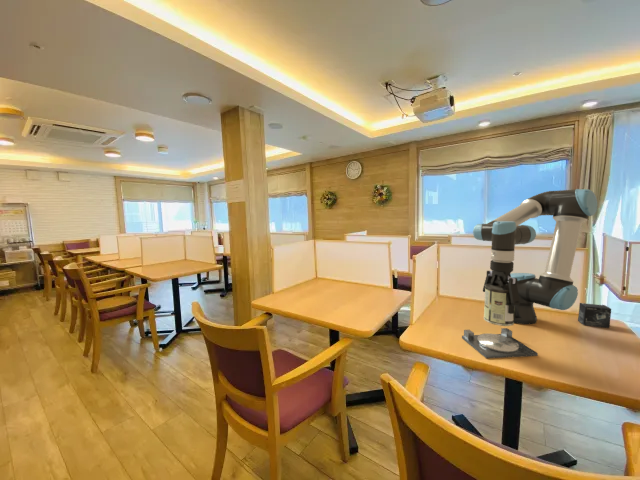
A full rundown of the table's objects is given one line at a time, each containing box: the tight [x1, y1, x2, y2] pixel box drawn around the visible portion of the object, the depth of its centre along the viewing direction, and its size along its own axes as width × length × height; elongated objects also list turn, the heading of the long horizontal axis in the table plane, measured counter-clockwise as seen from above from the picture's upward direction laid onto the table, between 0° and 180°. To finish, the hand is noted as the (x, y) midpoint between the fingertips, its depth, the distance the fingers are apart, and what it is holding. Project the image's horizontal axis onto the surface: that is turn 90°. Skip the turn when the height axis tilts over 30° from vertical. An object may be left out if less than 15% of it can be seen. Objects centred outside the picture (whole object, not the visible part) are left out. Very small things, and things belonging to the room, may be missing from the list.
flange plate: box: [461, 327, 539, 359], centre depth 109 cm, size 20×16×4 cm
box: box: [577, 302, 612, 329], centre depth 127 cm, size 9×6×10 cm, turn 68°
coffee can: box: [483, 284, 515, 327], centre depth 107 cm, size 10×10×14 cm
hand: (498, 315), depth 108 cm, fingers closed on coffee can, 10 cm apart
